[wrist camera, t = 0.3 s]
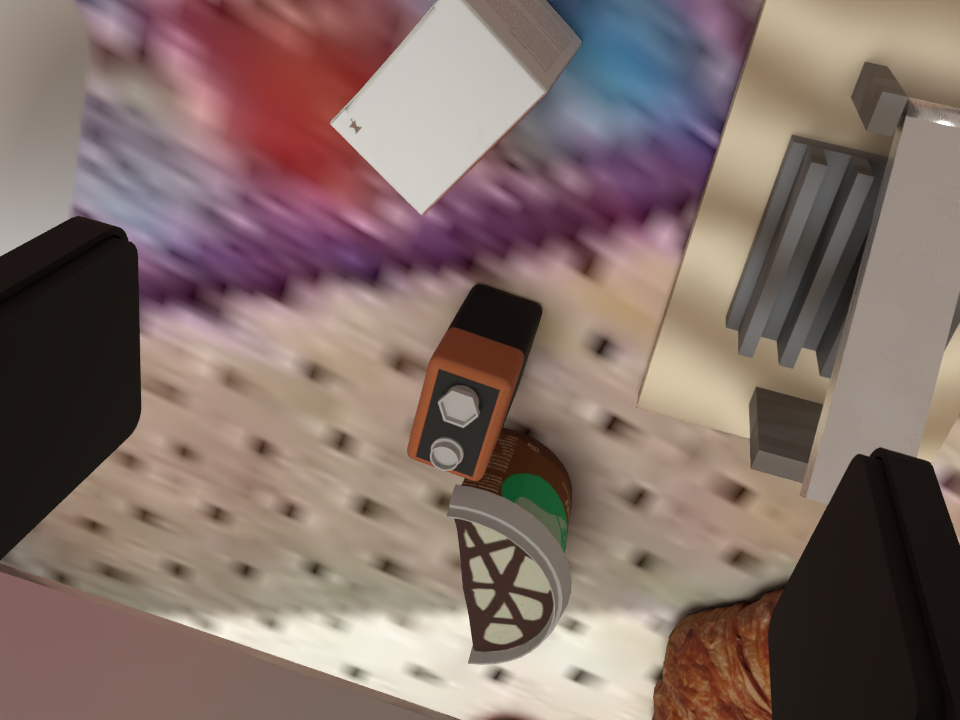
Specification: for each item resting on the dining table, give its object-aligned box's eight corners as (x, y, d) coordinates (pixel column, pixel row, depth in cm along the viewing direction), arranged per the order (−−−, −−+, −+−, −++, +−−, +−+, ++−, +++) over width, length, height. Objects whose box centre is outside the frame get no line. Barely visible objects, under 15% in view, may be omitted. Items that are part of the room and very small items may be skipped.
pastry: (632, 556, 59) (618, 649, 52) (883, 563, 54) (904, 665, 47) (654, 727, 66) (646, 826, 60) (876, 745, 62) (893, 855, 55)
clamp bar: (901, 103, 36) (912, 92, 35) (992, 123, 36) (1006, 113, 34) (798, 495, 35) (806, 498, 34) (889, 521, 35) (900, 524, 34)
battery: (545, 303, 51) (509, 395, 42) (515, 396, 54) (475, 497, 46) (474, 279, 51) (423, 365, 42) (448, 373, 55) (397, 469, 46)
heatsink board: (777, -43, 39) (785, -21, 33) (1155, 35, 37) (1241, 75, 31) (638, 393, 52) (625, 469, 46) (914, 468, 50) (940, 559, 44)
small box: (477, 149, 47) (419, 222, 38) (402, 71, 46) (323, 126, 37) (588, 41, 43) (551, 94, 34) (508, -48, 42) (448, -17, 33)
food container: (593, 564, 60) (570, 683, 51) (504, 556, 61) (468, 670, 53) (586, 411, 54) (560, 517, 45) (488, 406, 55) (445, 508, 47)
